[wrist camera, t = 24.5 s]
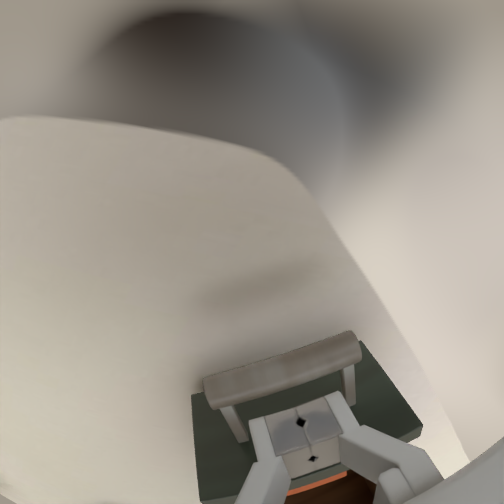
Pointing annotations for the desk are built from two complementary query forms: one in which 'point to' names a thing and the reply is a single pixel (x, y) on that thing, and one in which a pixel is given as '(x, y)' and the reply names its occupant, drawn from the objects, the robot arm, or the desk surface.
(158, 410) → the desk surface
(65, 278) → the desk surface
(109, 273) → the desk surface
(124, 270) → the desk surface
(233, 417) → the drawer
